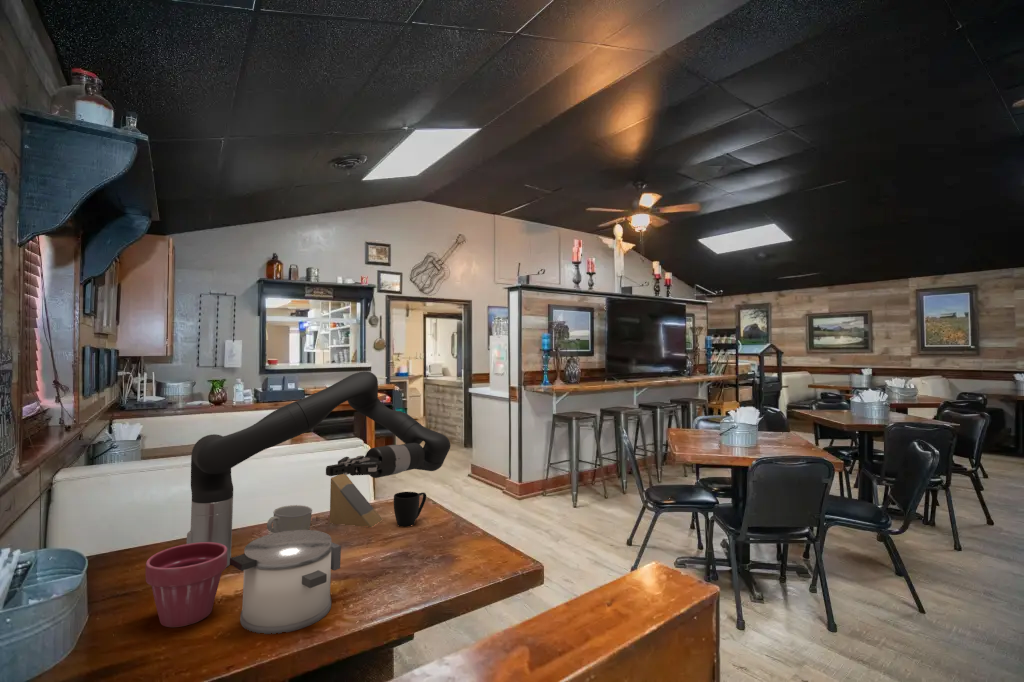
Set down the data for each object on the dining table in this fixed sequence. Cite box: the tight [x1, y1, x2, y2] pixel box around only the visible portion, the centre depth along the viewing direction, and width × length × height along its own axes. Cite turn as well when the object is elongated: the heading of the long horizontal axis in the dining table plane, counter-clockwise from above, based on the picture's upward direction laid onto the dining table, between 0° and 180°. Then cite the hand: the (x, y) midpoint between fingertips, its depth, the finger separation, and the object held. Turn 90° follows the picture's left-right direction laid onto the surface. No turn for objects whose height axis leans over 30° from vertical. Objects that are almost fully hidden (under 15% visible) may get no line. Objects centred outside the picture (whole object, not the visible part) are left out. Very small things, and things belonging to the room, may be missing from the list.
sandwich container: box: [329, 473, 383, 528], centre depth 167 cm, size 9×15×15 cm, turn 78°
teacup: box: [266, 504, 313, 534], centre depth 151 cm, size 14×11×8 cm
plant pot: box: [145, 542, 228, 628], centre depth 105 cm, size 14×14×13 cm
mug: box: [393, 491, 427, 527], centre depth 166 cm, size 8×12×10 cm
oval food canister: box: [239, 541, 342, 635], centre depth 109 cm, size 19×23×12 cm
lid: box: [229, 529, 333, 572], centre depth 107 cm, size 20×17×2 cm
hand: (327, 471), depth 117 cm, fingers closed
